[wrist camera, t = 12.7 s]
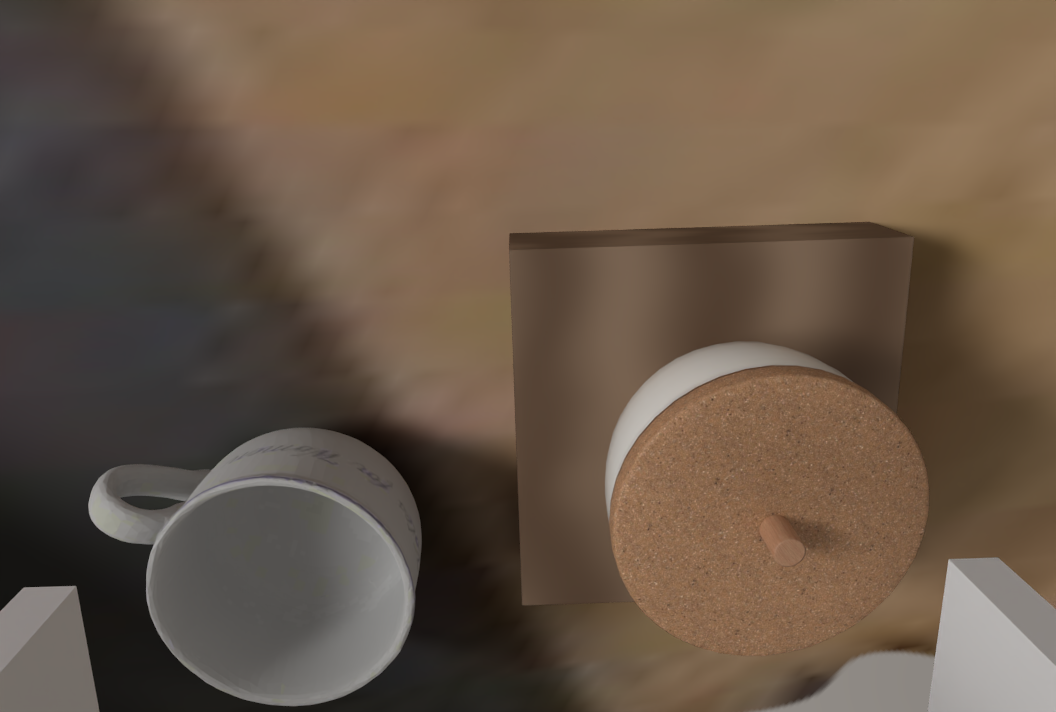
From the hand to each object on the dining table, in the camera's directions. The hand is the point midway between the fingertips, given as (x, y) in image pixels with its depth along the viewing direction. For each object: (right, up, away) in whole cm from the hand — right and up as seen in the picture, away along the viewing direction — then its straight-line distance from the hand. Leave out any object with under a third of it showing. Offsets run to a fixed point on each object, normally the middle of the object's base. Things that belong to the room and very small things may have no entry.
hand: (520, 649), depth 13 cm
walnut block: (+8, +3, +28) cm, 29 cm away
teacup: (-11, -2, +28) cm, 31 cm away
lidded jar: (+8, +1, +23) cm, 24 cm away
